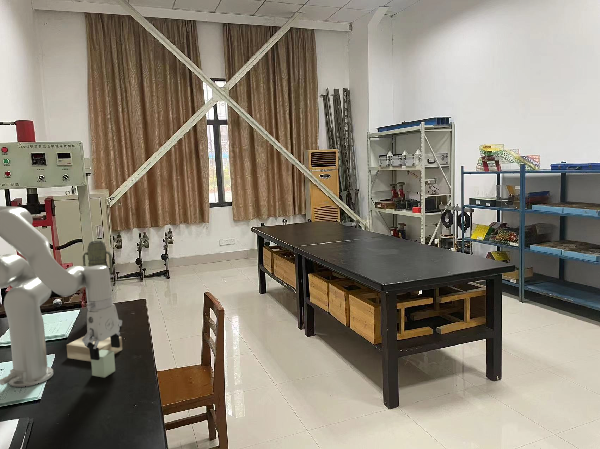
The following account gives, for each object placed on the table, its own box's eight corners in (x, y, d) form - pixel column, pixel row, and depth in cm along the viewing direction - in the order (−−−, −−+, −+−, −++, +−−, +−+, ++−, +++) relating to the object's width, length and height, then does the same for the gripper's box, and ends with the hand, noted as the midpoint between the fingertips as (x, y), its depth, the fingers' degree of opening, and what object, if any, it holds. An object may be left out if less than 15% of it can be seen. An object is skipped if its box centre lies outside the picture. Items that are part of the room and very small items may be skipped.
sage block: (104, 377, 149) (103, 357, 148) (92, 375, 150) (90, 355, 149) (115, 371, 153) (113, 351, 152) (102, 369, 155) (101, 349, 154)
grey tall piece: (115, 319, 204) (110, 242, 199) (86, 322, 200) (80, 244, 195) (115, 313, 212) (111, 239, 208) (87, 316, 208) (82, 241, 203)
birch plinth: (99, 362, 159) (98, 349, 159) (67, 357, 164) (66, 344, 163) (122, 349, 171) (121, 336, 170) (92, 345, 175) (91, 332, 174)
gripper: (90, 313, 139) (96, 365, 142) (127, 296, 155) (132, 343, 158) (70, 311, 141) (76, 363, 144) (109, 295, 158) (114, 342, 160)
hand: (105, 353), depth 151 cm, fingers open, 9 cm apart
